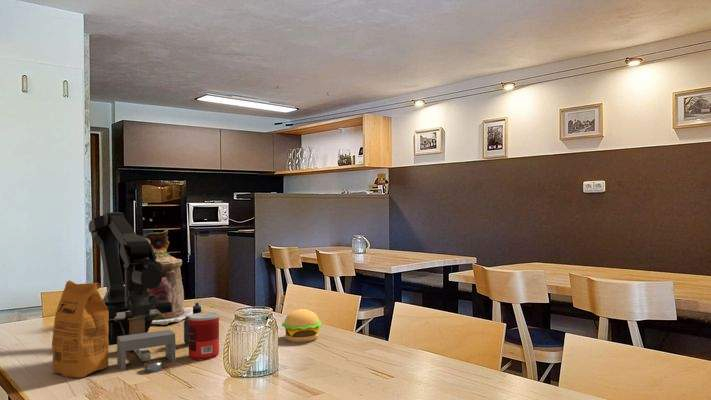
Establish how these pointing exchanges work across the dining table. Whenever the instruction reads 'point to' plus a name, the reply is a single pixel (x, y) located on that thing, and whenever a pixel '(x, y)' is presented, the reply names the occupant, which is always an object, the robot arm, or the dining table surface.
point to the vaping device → (186, 328)
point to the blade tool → (136, 328)
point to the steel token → (153, 366)
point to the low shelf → (145, 344)
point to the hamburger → (301, 326)
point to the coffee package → (80, 331)
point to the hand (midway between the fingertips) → (136, 340)
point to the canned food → (203, 335)
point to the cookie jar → (167, 281)
